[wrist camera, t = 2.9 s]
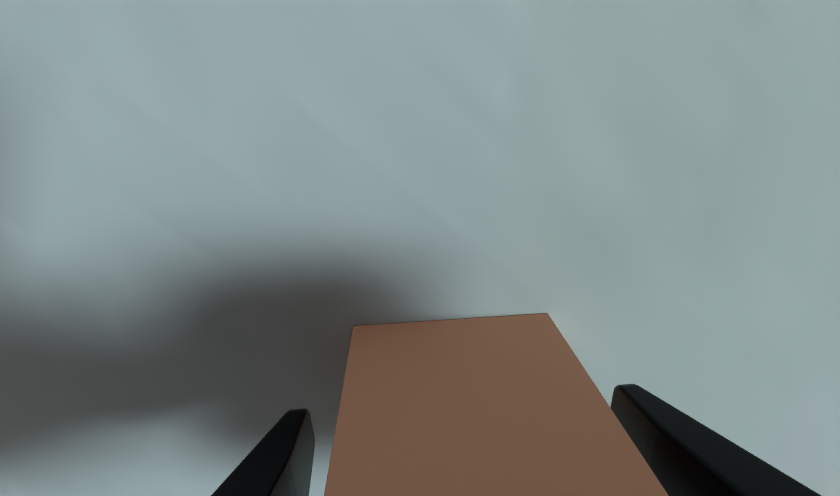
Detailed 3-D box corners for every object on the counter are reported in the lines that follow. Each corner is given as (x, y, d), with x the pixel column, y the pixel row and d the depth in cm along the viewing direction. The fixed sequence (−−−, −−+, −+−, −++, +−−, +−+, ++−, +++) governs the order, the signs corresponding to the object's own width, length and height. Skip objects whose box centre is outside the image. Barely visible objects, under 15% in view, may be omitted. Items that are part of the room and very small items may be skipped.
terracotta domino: (541, 375, 11) (839, 966, 4) (361, 387, 11) (287, 1037, 3) (547, 313, 10) (940, 904, 3) (353, 325, 10) (238, 992, 3)
